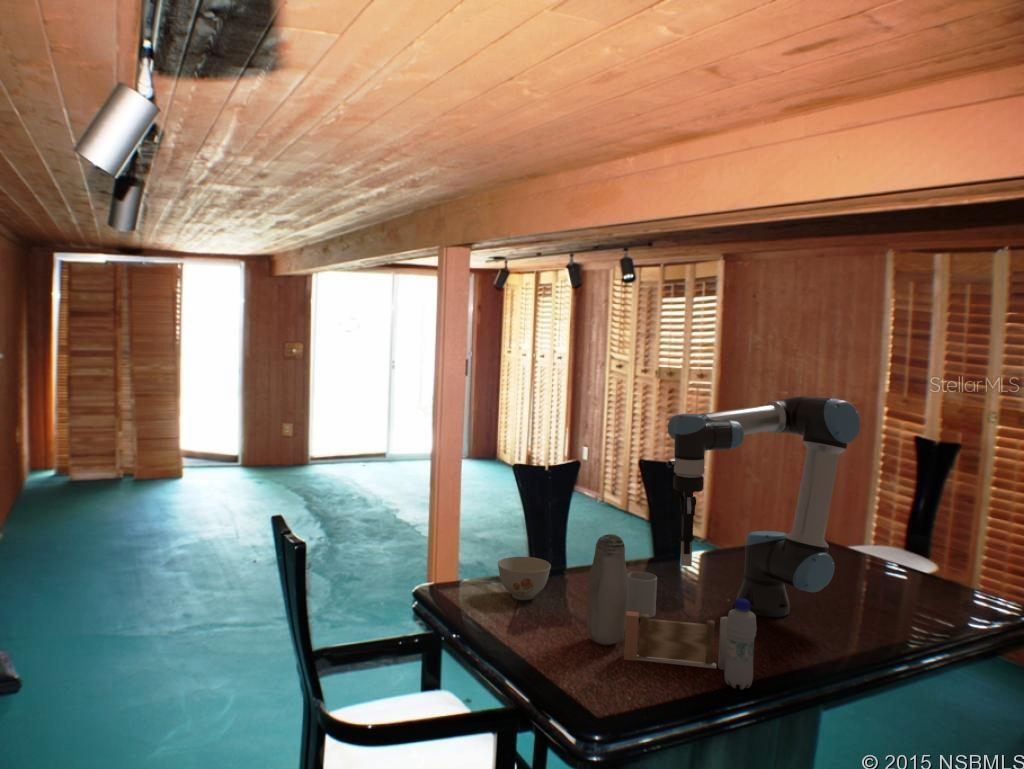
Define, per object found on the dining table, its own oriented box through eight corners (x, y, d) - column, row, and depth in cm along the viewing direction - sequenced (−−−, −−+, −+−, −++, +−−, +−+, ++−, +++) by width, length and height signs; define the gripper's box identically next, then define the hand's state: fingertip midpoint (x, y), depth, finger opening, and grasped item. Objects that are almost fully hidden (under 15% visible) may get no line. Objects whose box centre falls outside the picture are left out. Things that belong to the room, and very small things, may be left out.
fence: (730, 665, 183) (733, 617, 182) (732, 671, 180) (735, 622, 179) (624, 654, 187) (626, 607, 187) (624, 659, 184) (626, 611, 184)
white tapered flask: (615, 653, 188) (621, 542, 186) (578, 643, 193) (583, 535, 191) (631, 641, 196) (636, 535, 194) (595, 632, 201) (600, 528, 200)
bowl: (487, 600, 223) (489, 566, 222) (508, 585, 238) (509, 553, 237) (538, 609, 217) (540, 575, 216) (556, 593, 232) (558, 561, 231)
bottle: (718, 678, 176) (723, 594, 175) (746, 678, 176) (751, 594, 175) (729, 691, 169) (734, 604, 168) (758, 691, 170) (763, 604, 168)
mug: (661, 616, 215) (663, 579, 214) (635, 620, 212) (637, 581, 211) (638, 603, 226) (639, 566, 225) (613, 605, 222) (615, 569, 222)
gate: (711, 660, 183) (713, 620, 183) (712, 663, 181) (714, 623, 181) (638, 653, 186) (640, 613, 185) (638, 656, 184) (640, 616, 184)
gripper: (672, 469, 200) (670, 556, 201) (674, 478, 187) (672, 571, 189) (702, 470, 198) (699, 558, 200) (705, 480, 186) (702, 573, 187)
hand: (686, 565), depth 194 cm, fingers closed
